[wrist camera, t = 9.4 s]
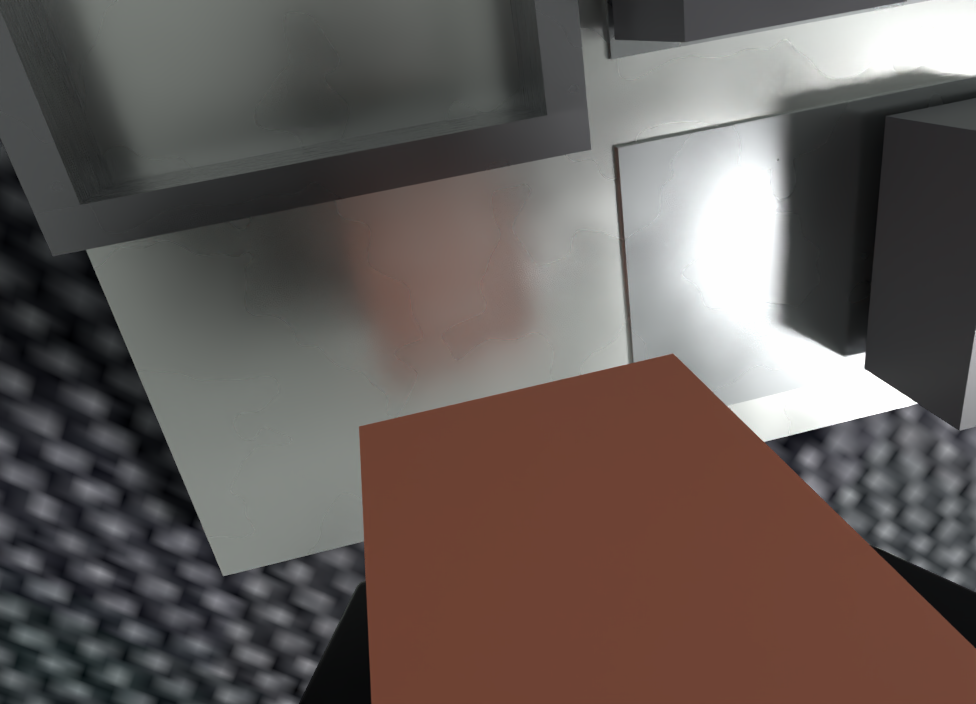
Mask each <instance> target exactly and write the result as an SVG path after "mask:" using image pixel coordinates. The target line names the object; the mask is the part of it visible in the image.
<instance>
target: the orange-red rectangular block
mask: <svg viewBox="0 0 976 704" xmlns="http://www.w3.org/2000/svg"><path fill="white" fill-rule="evenodd" d="M359 439H360V461H361V483H362V505H363V527H364V549H365V571H366V594H367V616H368V638H369V660H370V682H371V704H976V648H975V647H974V646H973V645H972V644H971V643H969V642H968V641H967V640H966V639H965V638H964V637H963V636H962V635H961V634H960V633H959V632H958V631H957V630H956V629H955V628H954V627H953V626H952V625H951V624H950V623H949V622H948V621H947V620H946V619H945V618H944V617H943V616H942V615H941V614H940V613H939V612H938V611H937V610H936V609H935V608H934V607H933V606H932V605H931V604H930V603H928V602H927V601H926V600H925V599H924V598H923V597H922V596H921V595H920V594H919V593H918V592H917V591H916V590H915V589H914V588H913V587H912V586H911V585H910V584H909V583H908V582H907V581H906V580H905V579H904V578H903V577H902V576H901V575H900V574H899V573H898V572H897V571H896V570H895V569H894V568H893V567H892V566H891V565H890V564H888V563H887V562H886V561H885V560H884V559H883V558H882V557H881V556H880V555H879V554H878V553H877V552H876V551H875V550H874V549H873V548H872V547H871V546H870V545H869V544H868V543H867V542H866V541H865V540H864V539H863V538H862V537H861V536H860V535H859V534H858V533H857V532H856V531H855V530H854V529H853V528H852V527H851V526H850V525H849V524H847V523H846V522H845V521H844V520H843V519H842V518H841V517H840V516H839V515H838V514H837V513H836V512H835V511H834V510H833V509H832V508H831V507H830V506H829V505H828V504H827V503H826V502H825V501H824V500H823V499H822V498H821V497H820V496H819V495H818V494H817V493H816V492H815V491H814V490H813V489H812V488H811V487H810V486H809V485H807V484H806V483H805V482H804V481H803V480H802V479H801V478H800V477H799V476H798V475H797V474H796V473H795V472H794V471H793V470H792V469H791V468H790V467H789V466H788V465H787V464H786V463H785V462H784V461H783V460H782V459H781V458H780V457H779V456H778V455H777V454H776V453H775V452H774V451H773V450H772V449H771V448H770V447H769V446H768V445H766V444H765V443H764V442H763V441H762V440H761V439H760V438H759V437H758V436H757V435H756V434H755V433H754V432H753V431H752V430H751V429H750V428H749V427H748V426H747V425H746V424H745V423H744V422H743V421H742V420H741V419H740V418H739V417H738V416H737V415H736V414H735V413H734V412H733V411H732V410H731V409H730V408H729V407H728V406H726V405H725V404H724V403H723V402H722V401H721V400H720V399H719V398H718V397H717V396H716V395H715V394H714V393H713V392H712V391H711V390H710V389H709V388H708V387H707V386H706V385H705V384H704V383H703V382H702V381H701V380H700V379H699V378H698V377H697V376H696V375H695V374H694V373H693V372H692V371H691V370H690V369H689V368H688V367H687V366H685V365H684V364H683V363H682V362H681V361H680V360H679V359H678V358H677V357H676V356H675V355H674V354H669V355H665V356H661V357H656V358H652V359H648V360H643V361H639V362H635V363H630V364H626V365H622V366H617V367H613V368H609V369H605V370H600V371H596V372H592V373H587V374H583V375H579V376H574V377H570V378H566V379H561V380H557V381H553V382H548V383H544V384H540V385H536V386H531V387H527V388H523V389H518V390H514V391H510V392H505V393H501V394H497V395H492V396H488V397H484V398H480V399H475V400H471V401H467V402H462V403H458V404H454V405H449V406H445V407H441V408H436V409H432V410H428V411H423V412H419V413H415V414H411V415H406V416H402V417H398V418H393V419H389V420H385V421H380V422H376V423H372V424H367V425H363V426H359Z"/></svg>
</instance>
